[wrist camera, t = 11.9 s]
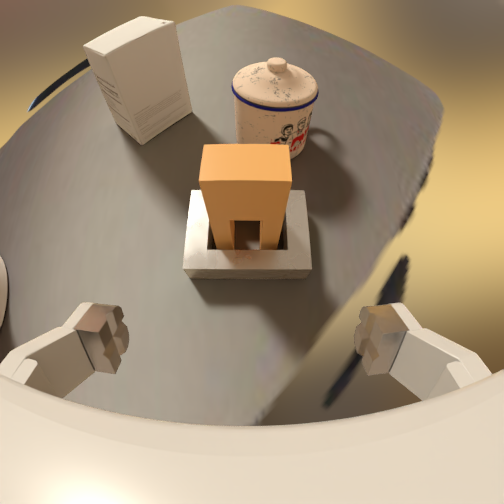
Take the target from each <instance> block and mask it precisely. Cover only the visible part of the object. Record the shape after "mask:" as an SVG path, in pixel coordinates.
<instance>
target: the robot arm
mask: <svg viewBox="0 0 504 504" xmlns="http://www.w3.org/2000/svg"><path fill="white" fill-rule="evenodd" d="M6 302H7V273H6V268H5V264H4V262H3V260H2V258H1V256H0V328H1V325H2V321H3V318H4V314H5V308H6ZM123 317H124V315H123V312H122V308H121V307H119V306H116V305H107V304H98V303H87V302H84V303H81V304H80V305H79V306H78V308H77V309H76V310H75V311H74V312H73V314H72V315H71V316H70V317H69V319H68V320H67V321H66V322H65V324H64V325H63V326H62V327H57V328H55V329H53V330H51V331H49V332H47V333H45V334H43V335H41V336H39V337H37V338H35V339H33V340H31V341H29V342H27V343H25V344H23V345H21V346H19V347H17V348H15V349H14V350H12V351H10V352H9V354H8V355H7V356H6V357H5V359H4V360H3V361H2V363H1V364H0V504H504V369H503V370H501V371H499V372H497V373H495V374H493V375H492V374H491V372H490V371H489V369H488V368H487V367H486V366H485V364H484V363H483V361H482V360H481V359H480V357H479V356H478V355H477V354H476V353H474V352H472V351H470V350H468V349H466V348H464V347H462V346H460V345H458V344H456V343H454V342H452V341H450V340H448V339H446V338H444V337H442V336H441V335H439V334H437V333H435V332H433V331H431V330H429V329H426V328H425V329H422V327H421V326H420V325H419V323H418V322H417V321H416V319H415V318H414V317H413V316H412V314H411V313H410V312H409V310H408V309H407V308H406V307H405V305H404V304H402V303H394V304H388V305H377V306H366V307H363V308H362V309H361V311H360V315H359V318H360V320H361V323H360V324H359V325H358V326H357V327H356V330H355V335H354V343H355V348H356V350H357V353H358V354H360V355H361V356H363V359H362V364H363V366H364V369H365V371H366V373H367V375H375V374H382V373H389V372H390V373H389V374H390V375H392V376H393V377H394V378H395V379H397V380H398V381H399V382H400V383H402V384H403V385H404V386H405V387H407V388H408V389H409V390H410V391H411V392H413V393H414V394H415V395H416V396H418V397H419V398H420V399H421V400H422V401H421V402H417V403H414V404H411V405H406V406H403V407H399V408H395V409H391V410H386V411H382V412H378V413H373V414H368V415H363V416H357V417H351V418H345V419H339V420H332V421H324V422H315V423H306V424H293V425H278V426H215V425H199V424H187V423H177V422H169V421H161V420H154V419H147V418H141V417H135V416H130V415H125V414H120V413H115V412H111V411H106V410H102V409H98V408H94V407H90V406H86V405H83V404H79V403H76V402H72V401H69V400H66V399H63V397H65V396H66V395H67V394H68V393H70V392H71V391H72V390H73V389H75V388H76V387H77V386H78V385H79V384H81V383H82V382H83V381H84V380H86V379H87V378H88V377H89V376H91V375H92V374H93V373H94V372H95V371H98V372H105V373H111V374H116V372H117V369H118V367H119V365H120V363H121V358H120V355H122V354H123V353H125V352H126V350H127V348H128V344H129V332H128V328H127V326H126V325H125V324H124V323H123V322H122V319H123Z"/></svg>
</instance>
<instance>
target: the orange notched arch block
mask: <svg viewBox="0 0 504 504" xmlns="http://www.w3.org/2000/svg"><path fill="white" fill-rule="evenodd" d="M199 184H200V188H201V192H202V196H203V199H204V203H205V207H206V211H207V214H208V218H209V222H210V225H211V229H212V233H213V236H214V240H215V243H216V247H217V250H234V240H235V222H234V220H249V221H260V250H277V246H278V242H279V237H280V233H281V229H282V224H283V220H284V215H285V211H286V207H287V202H288V198H289V193H290V189H291V184H292V175H291V164H290V154H289V145H278V144H208V145H204V147H203V154H202V161H201V168H200V175H199Z"/></svg>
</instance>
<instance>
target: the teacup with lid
mask: <svg viewBox="0 0 504 504" xmlns="http://www.w3.org/2000/svg"><path fill="white" fill-rule="evenodd" d="M232 91H233V93H234V100H235V121H236V139H237V143H238V144H278V145H289V154H290V159H292V158H294V157H295V156H297V155H298V154H299V153H300V152H301V151H302V149H303V148H304V145H305V141H306V137H307V132H308V128H309V123H310V119H311V114H312V110H313V105H314V101H315V100H316V99H317V97H318V86H317V83H316V81H315V80H314V78H313V77H312V76H311V75H310V74H309V73H307V72H306V71H304V70H303V69H301V68H299V67H296V66H293V65H290V64H287V62H286V61H285V60H284V59H282V58H270V59H269V60H268V61H267V62H261V63H255V64H252V65H249V66H246V67H244V68H243V69H241V70H240V71H239V72H238V73H237V74H236V75H235V77H234V79H233V81H232Z"/></svg>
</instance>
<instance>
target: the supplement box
mask: <svg viewBox="0 0 504 504" xmlns="http://www.w3.org/2000/svg"><path fill="white" fill-rule="evenodd" d="M83 48H84V50H85V53H86V56H87V58H88V61H89V63H90V66H91V68H92V70H93V73H94V75H95V77H96V80H97V82H98V84H99V86H100V89H101V91H102V93H103V95H104V98H105V100H106V102H107V104H108V107H109V109H110V111H111V113H112V115H113V117H114V120H115V122H116V123H117V124H118V125H119V126H120V127H121V128H122V129H124V130H125V131H126V132H127V133H128V134H129V135H130V136H132V137H133V138H134V139H135V140H136V141H137V142H138V143H139V144H141V145H144V144H145V143H146V142H148V141H149V140H151V139H152V138H153V137H155V136H156V135H158V134H159V133H161V132H162V131H163V130H165V129H166V128H168V127H169V126H171V125H172V124H174V123H175V122H177V121H178V120H180V119H182V118H183V117H185V116H186V115H188V114H189V113H191V112H192V107H191V102H190V97H189V93H188V88H187V83H186V78H185V73H184V68H183V63H182V58H181V53H180V47H179V42H178V37H177V31H176V25H175V22H173V21H166V20H161V19H154V18H149V17H144V16H142V17H141V16H140V17H138V18H136V19H134V20H132V21H129V22H127V23H125V24H123V25H121V26H119V27H117V28H115V29H113V30H111V31H109V32H107V33H105V34H103V35H101V36H99V37H97V38H96V39H94V40H92V41H90V42H89V43H87V44H85V45H83Z"/></svg>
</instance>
